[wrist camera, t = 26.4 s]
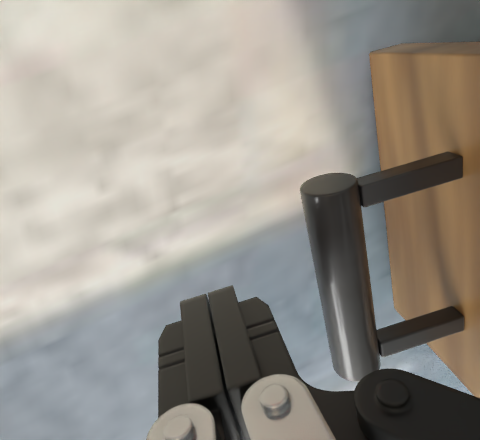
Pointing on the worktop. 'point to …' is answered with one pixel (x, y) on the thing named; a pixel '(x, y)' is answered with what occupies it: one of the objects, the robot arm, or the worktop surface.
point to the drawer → (408, 216)
